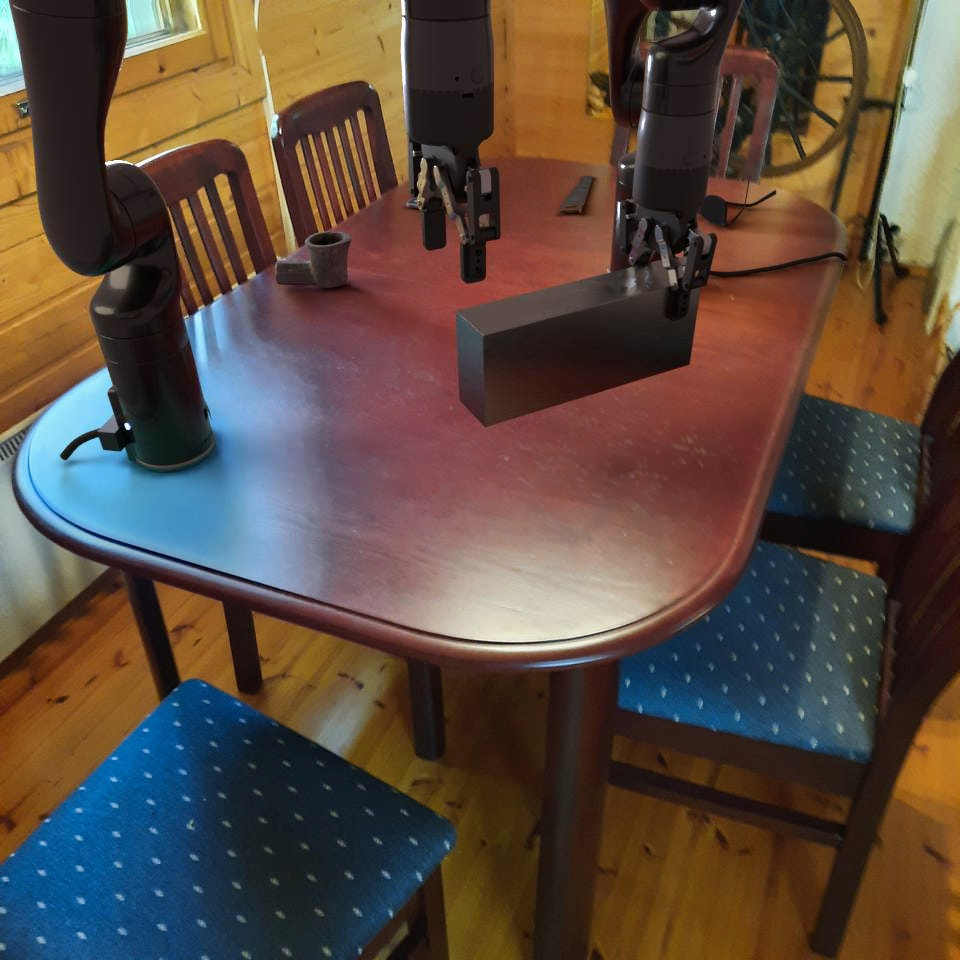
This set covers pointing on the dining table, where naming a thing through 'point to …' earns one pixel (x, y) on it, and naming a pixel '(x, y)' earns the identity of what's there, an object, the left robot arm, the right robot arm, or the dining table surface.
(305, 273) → the pipe
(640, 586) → the dining table surface
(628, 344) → the box
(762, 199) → the sunglasses
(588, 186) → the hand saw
